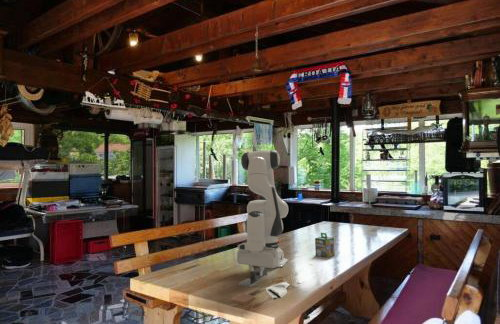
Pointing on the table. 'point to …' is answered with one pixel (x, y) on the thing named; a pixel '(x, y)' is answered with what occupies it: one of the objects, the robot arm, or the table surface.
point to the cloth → (277, 290)
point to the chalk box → (324, 246)
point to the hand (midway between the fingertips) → (256, 275)
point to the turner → (253, 278)
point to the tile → (243, 299)
